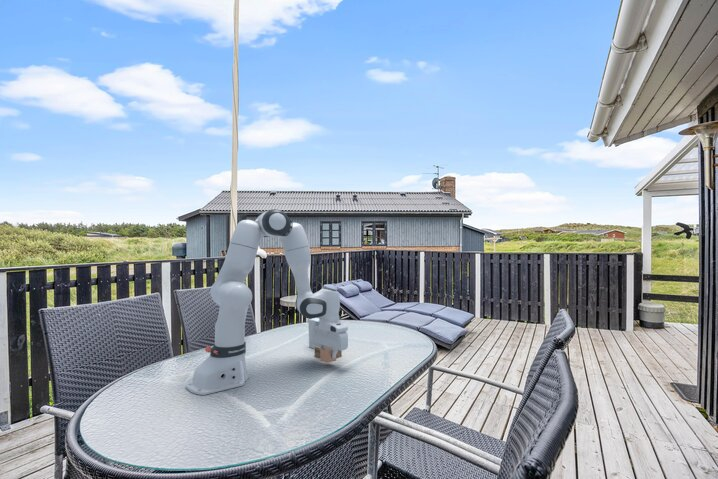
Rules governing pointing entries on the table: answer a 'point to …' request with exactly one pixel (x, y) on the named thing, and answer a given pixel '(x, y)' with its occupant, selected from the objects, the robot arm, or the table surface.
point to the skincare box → (311, 322)
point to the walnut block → (317, 349)
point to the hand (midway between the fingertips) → (328, 356)
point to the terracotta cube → (326, 355)
